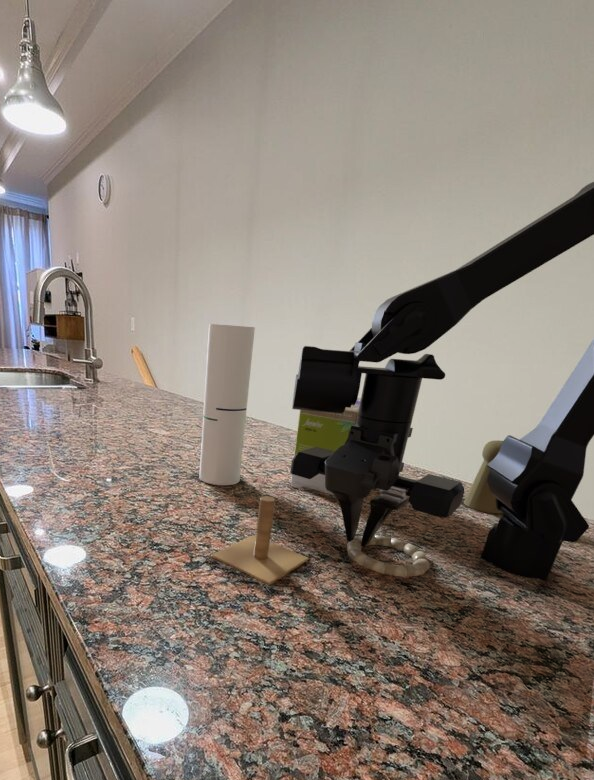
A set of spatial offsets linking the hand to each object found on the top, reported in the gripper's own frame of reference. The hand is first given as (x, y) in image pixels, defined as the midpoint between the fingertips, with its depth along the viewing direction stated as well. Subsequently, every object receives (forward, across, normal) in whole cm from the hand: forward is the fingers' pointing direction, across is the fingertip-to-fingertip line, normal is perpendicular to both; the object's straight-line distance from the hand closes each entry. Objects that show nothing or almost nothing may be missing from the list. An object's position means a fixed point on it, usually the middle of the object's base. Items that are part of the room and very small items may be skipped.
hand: (357, 543), depth 55 cm
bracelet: (0, +4, 0) cm, 4 cm away
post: (+1, -6, -12) cm, 14 cm away
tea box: (+1, -14, +22) cm, 26 cm away
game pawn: (+1, +8, +33) cm, 34 cm away
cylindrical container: (+1, -29, +8) cm, 30 cm away
